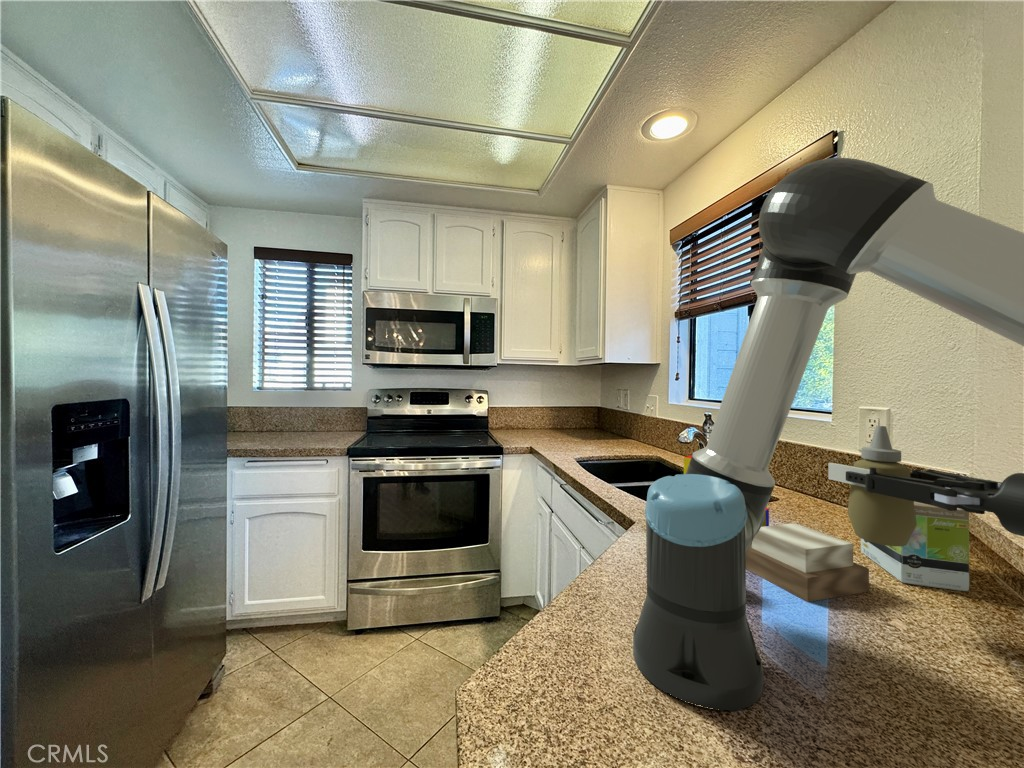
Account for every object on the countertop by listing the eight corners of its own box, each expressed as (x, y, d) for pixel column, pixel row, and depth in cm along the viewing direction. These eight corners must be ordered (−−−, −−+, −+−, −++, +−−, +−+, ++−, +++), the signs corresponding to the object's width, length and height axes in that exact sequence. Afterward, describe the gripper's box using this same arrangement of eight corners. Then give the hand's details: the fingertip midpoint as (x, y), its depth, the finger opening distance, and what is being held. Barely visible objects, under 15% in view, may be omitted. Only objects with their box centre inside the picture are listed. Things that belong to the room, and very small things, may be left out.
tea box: (973, 593, 69) (972, 508, 69) (900, 584, 72) (899, 503, 73) (917, 558, 83) (916, 488, 84) (858, 552, 87) (858, 484, 87)
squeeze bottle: (907, 537, 63) (908, 425, 63) (925, 555, 57) (926, 430, 57) (842, 527, 68) (843, 422, 68) (851, 543, 61) (852, 426, 61)
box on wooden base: (807, 601, 66) (807, 554, 66) (739, 565, 80) (739, 525, 80) (869, 591, 70) (868, 545, 70) (794, 558, 83) (793, 520, 83)
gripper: (1008, 553, 42) (801, 495, 65) (1113, 538, 47) (887, 488, 70) (1008, 483, 42) (801, 449, 65) (1113, 475, 47) (887, 446, 70)
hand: (846, 469), depth 67 cm, fingers closed on squeeze bottle, 6 cm apart
